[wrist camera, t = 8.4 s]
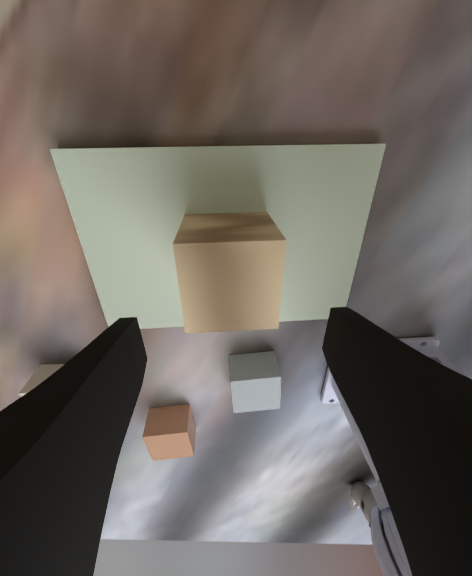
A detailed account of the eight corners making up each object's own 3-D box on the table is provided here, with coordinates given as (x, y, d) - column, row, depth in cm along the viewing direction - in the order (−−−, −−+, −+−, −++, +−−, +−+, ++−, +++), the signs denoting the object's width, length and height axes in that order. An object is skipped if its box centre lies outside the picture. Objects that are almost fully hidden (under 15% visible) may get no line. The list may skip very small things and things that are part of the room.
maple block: (267, 211, 16) (286, 240, 11) (263, 283, 18) (278, 328, 14) (184, 214, 16) (172, 243, 11) (192, 286, 18) (185, 333, 14)
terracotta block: (190, 402, 26) (187, 432, 23) (196, 426, 28) (194, 455, 25) (149, 407, 26) (142, 437, 23) (158, 430, 28) (152, 460, 25)
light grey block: (91, 362, 22) (74, 391, 20) (101, 392, 24) (88, 423, 22) (42, 363, 22) (18, 393, 19) (56, 394, 24) (37, 425, 21)
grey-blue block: (273, 349, 23) (281, 376, 20) (273, 380, 25) (279, 408, 22) (228, 353, 23) (230, 381, 20) (232, 384, 25) (233, 413, 22)
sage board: (378, 143, 15) (386, 143, 14) (339, 312, 21) (343, 318, 20) (57, 148, 14) (49, 148, 13) (113, 323, 20) (109, 330, 19)
